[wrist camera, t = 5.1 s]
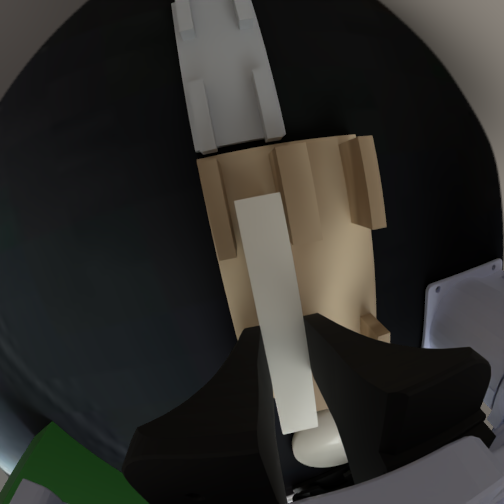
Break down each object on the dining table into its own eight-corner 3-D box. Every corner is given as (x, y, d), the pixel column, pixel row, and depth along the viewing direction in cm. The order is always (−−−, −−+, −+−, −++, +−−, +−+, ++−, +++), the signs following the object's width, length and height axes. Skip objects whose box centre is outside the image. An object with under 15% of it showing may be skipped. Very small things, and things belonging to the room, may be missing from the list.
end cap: (313, 502, 24) (322, 542, 17) (286, 487, 22) (294, 535, 16) (386, 468, 23) (405, 507, 16) (370, 449, 22) (392, 496, 15)
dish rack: (350, 136, 15) (377, 125, 12) (371, 364, 19) (391, 393, 15) (198, 161, 15) (186, 153, 12) (253, 394, 19) (256, 428, 15)
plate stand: (246, -9, 13) (247, -24, 11) (285, 140, 15) (291, 135, 13) (172, 5, 13) (167, -9, 11) (197, 157, 15) (192, 153, 13)
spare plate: (389, 382, 20) (395, 390, 19) (380, 442, 22) (384, 449, 21) (285, 412, 20) (287, 422, 19) (296, 466, 22) (297, 475, 21)
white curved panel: (267, 204, 15) (280, 192, 10) (298, 371, 16) (318, 426, 11) (238, 209, 15) (234, 201, 10) (272, 376, 16) (282, 434, 11)
